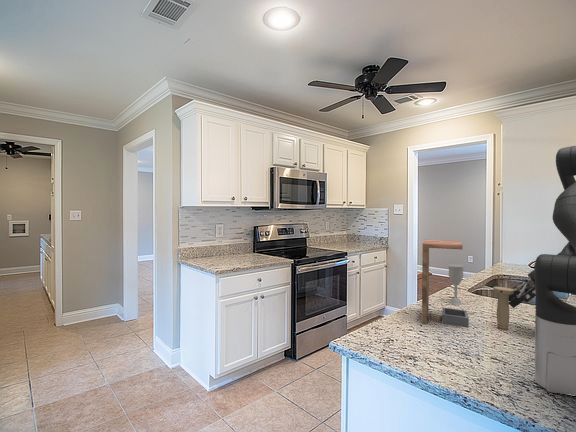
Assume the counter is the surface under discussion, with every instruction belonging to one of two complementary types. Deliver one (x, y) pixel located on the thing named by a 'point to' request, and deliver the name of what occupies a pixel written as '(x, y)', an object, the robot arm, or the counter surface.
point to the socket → (455, 317)
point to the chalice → (455, 280)
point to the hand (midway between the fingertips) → (508, 302)
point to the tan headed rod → (503, 306)
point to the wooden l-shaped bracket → (425, 269)
